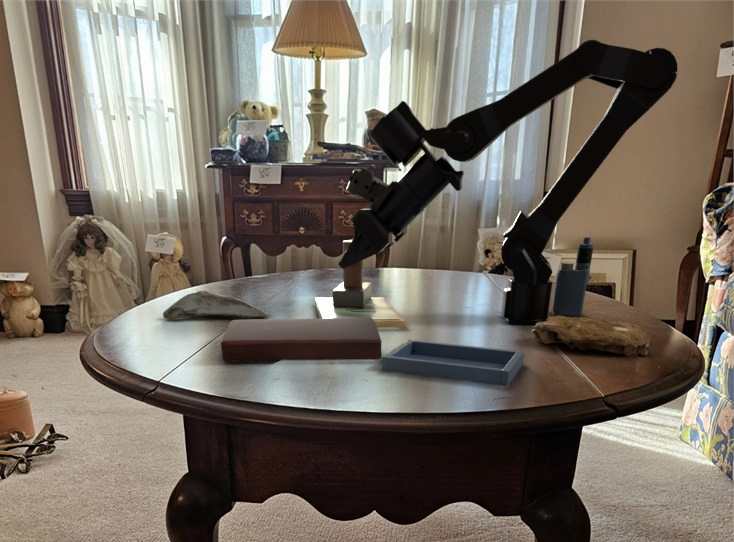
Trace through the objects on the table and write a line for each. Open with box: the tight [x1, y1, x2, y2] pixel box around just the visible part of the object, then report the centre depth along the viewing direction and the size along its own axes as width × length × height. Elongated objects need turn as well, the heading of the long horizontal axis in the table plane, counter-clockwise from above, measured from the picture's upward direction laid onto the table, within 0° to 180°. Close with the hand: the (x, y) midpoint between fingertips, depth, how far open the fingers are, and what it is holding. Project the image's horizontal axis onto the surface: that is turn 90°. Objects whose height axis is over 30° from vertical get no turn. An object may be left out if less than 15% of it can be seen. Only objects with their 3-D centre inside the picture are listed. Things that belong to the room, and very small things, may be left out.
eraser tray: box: [381, 339, 525, 386], centre depth 77 cm, size 15×10×2 cm, turn 67°
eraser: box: [332, 239, 373, 308], centre depth 107 cm, size 10×5×10 cm, turn 172°
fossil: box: [162, 290, 267, 320], centre depth 105 cm, size 11×5×15 cm
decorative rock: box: [531, 315, 651, 357], centre depth 87 cm, size 11×4×15 cm
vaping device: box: [551, 237, 595, 317], centre depth 107 cm, size 3×5×12 cm, turn 89°
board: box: [314, 296, 406, 329], centre depth 105 cm, size 20×12×2 cm, turn 7°
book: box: [220, 317, 382, 363], centre depth 84 cm, size 12×19×3 cm, turn 94°
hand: (344, 264), depth 107 cm, fingers open, 5 cm apart
